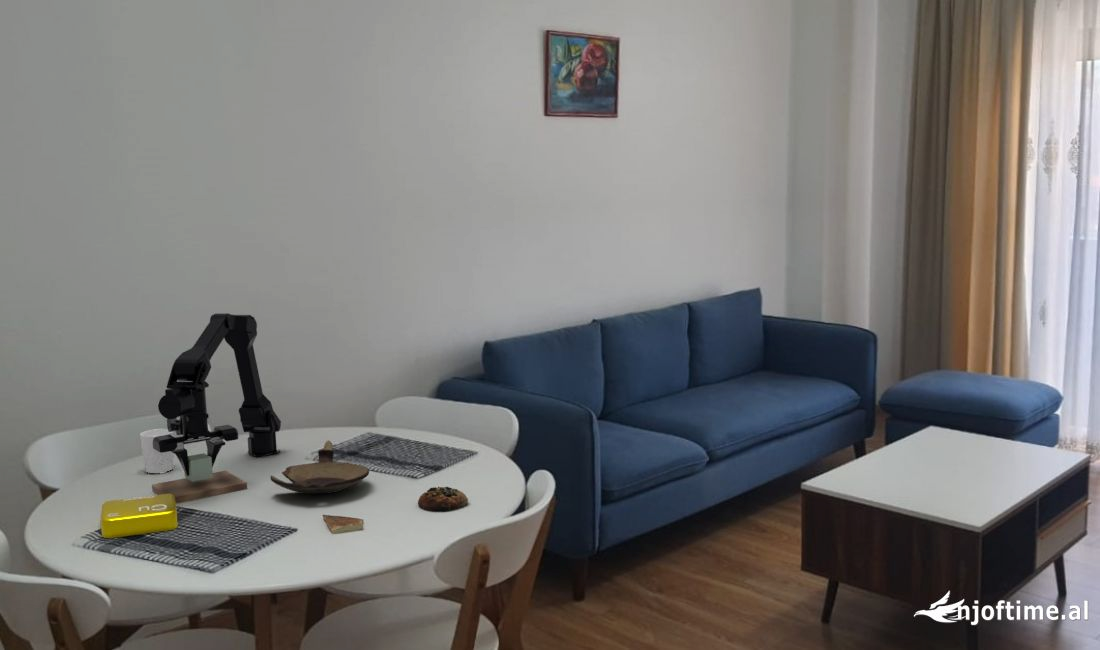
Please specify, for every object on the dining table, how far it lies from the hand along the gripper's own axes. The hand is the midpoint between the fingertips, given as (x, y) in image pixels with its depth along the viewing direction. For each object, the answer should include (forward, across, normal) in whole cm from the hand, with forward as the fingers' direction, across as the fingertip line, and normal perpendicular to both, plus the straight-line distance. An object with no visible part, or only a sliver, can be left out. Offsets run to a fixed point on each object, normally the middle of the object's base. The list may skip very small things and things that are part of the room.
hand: (198, 473), depth 253 cm
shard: (+5, -13, +47) cm, 49 cm away
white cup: (+4, +2, -24) cm, 24 cm away
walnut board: (+4, 0, 0) cm, 4 cm away
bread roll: (+4, -38, +49) cm, 62 cm away
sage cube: (+1, 0, 0) cm, 1 cm away
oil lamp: (+4, -24, +19) cm, 31 cm away
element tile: (+5, +19, +16) cm, 25 cm away
